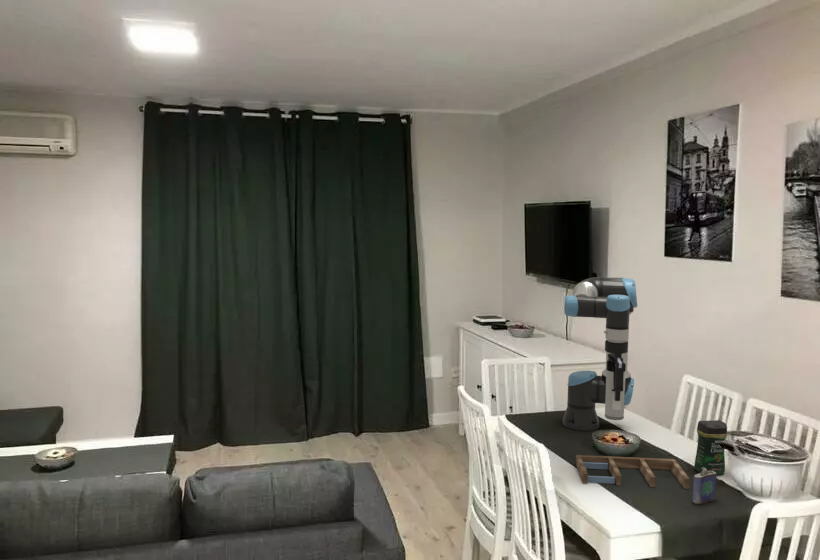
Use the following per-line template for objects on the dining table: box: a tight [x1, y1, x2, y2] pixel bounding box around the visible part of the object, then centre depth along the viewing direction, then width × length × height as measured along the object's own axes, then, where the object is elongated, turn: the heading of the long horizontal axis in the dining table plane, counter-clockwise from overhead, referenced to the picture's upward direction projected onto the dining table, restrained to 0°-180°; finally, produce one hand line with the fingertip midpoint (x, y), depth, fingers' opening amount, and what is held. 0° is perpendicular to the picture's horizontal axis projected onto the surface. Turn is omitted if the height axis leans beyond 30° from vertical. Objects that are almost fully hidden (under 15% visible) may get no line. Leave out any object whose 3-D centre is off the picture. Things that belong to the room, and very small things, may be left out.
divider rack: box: [575, 454, 691, 490], centre depth 232 cm, size 18×34×4 cm, turn 84°
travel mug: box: [604, 361, 626, 421], centre depth 229 cm, size 6×7×20 cm
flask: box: [692, 467, 718, 505], centre depth 212 cm, size 9×3×11 cm, turn 117°
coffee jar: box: [694, 419, 728, 476], centre depth 235 cm, size 10×8×19 cm
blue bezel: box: [583, 462, 616, 485], centre depth 232 cm, size 14×9×2 cm, turn 174°
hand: (614, 406), depth 229 cm, fingers closed on travel mug, 6 cm apart
